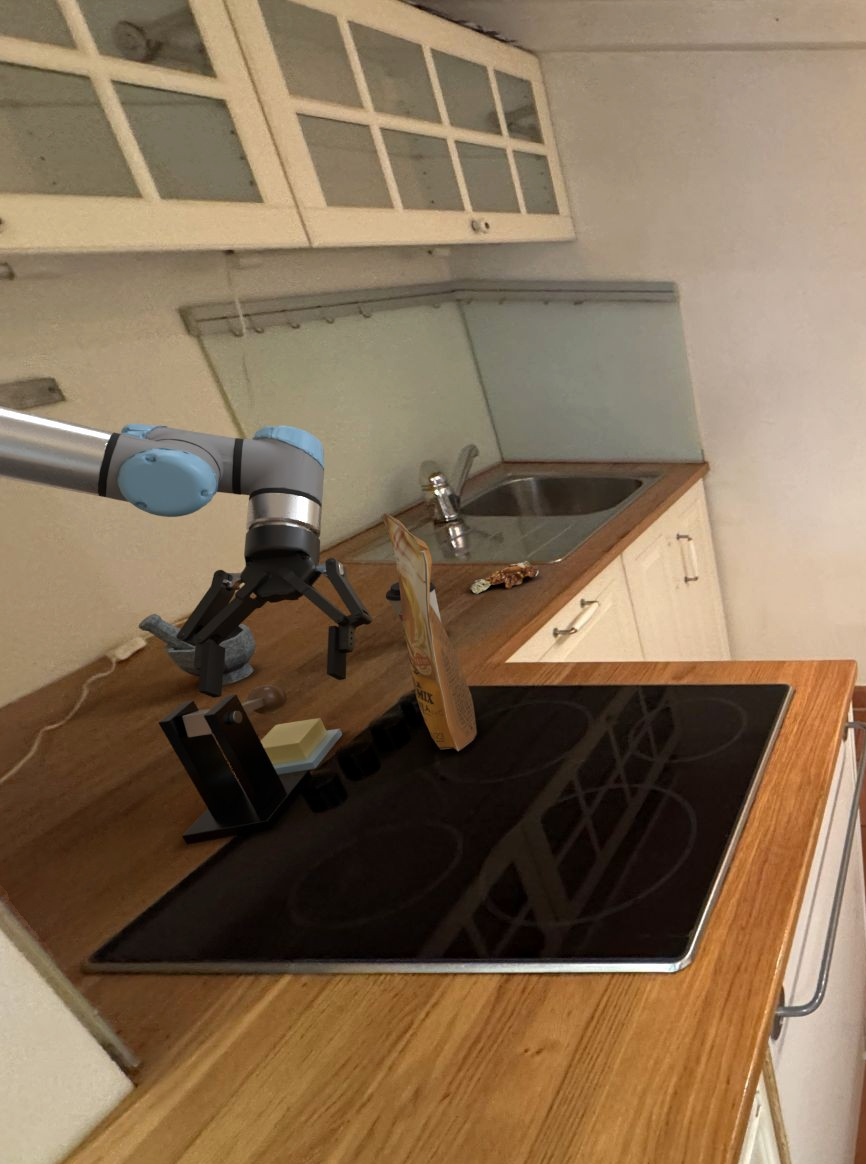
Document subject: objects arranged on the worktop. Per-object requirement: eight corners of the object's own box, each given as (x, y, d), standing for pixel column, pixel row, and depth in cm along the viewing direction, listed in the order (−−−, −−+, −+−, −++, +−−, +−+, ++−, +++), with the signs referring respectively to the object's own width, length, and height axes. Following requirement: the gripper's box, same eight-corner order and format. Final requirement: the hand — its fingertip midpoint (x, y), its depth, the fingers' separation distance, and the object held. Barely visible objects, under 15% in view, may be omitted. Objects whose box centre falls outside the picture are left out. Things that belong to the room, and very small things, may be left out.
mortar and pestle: (270, 656, 125) (238, 589, 120) (266, 678, 118) (231, 608, 113) (178, 678, 119) (140, 608, 114) (168, 702, 112) (126, 629, 107)
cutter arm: (263, 712, 96) (255, 684, 95) (296, 707, 97) (289, 680, 96) (181, 744, 82) (172, 712, 82) (221, 738, 83) (212, 706, 83)
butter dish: (249, 779, 94) (237, 756, 93) (281, 744, 101) (270, 721, 100) (315, 768, 96) (304, 745, 94) (342, 734, 103) (332, 712, 101)
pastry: (466, 588, 149) (460, 571, 148) (530, 570, 157) (525, 553, 156) (479, 597, 145) (473, 579, 143) (544, 578, 153) (539, 561, 151)
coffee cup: (411, 633, 131) (390, 579, 127) (456, 626, 133) (437, 573, 129) (398, 650, 125) (375, 594, 121) (445, 643, 127) (425, 588, 123)
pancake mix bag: (474, 688, 113) (409, 505, 101) (498, 744, 100) (426, 540, 87) (421, 703, 110) (346, 516, 97) (438, 764, 96) (354, 554, 84)
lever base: (236, 790, 93) (182, 691, 87) (312, 777, 94) (265, 680, 88) (186, 844, 84) (122, 739, 78) (271, 829, 86) (215, 725, 80)
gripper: (403, 536, 109) (401, 677, 103) (194, 558, 103) (178, 709, 97) (374, 511, 102) (371, 660, 96) (149, 533, 96) (128, 693, 90)
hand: (274, 685), depth 96 cm, fingers open, 13 cm apart
